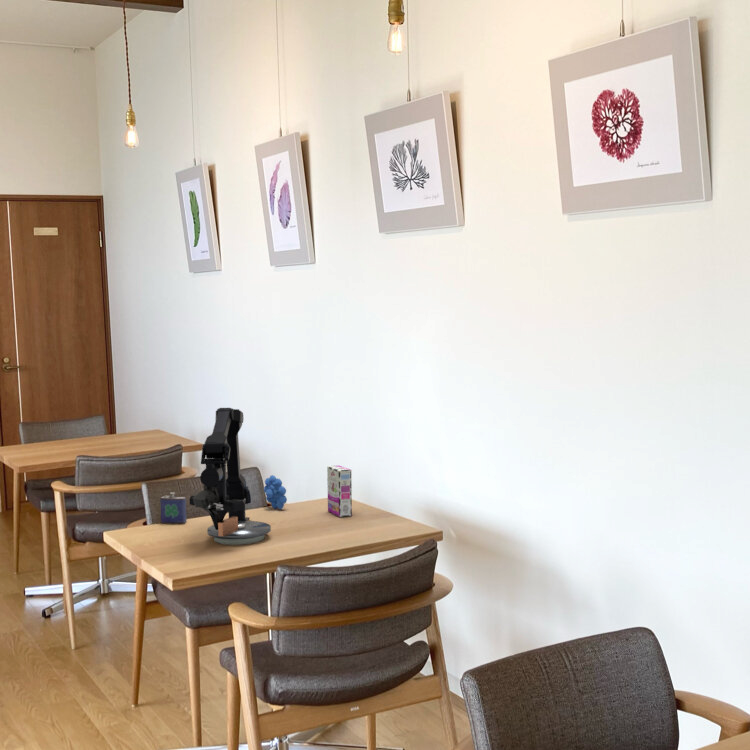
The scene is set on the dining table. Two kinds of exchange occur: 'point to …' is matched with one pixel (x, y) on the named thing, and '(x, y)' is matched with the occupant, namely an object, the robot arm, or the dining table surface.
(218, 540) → the valve base
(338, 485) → the candy bar box
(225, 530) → the grey disc with hub
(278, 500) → the grapes
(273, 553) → the dining table surface
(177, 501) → the flask
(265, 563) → the dining table surface
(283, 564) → the dining table surface
